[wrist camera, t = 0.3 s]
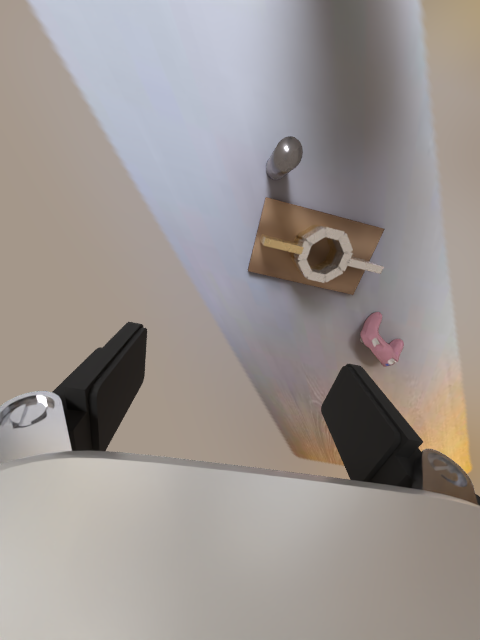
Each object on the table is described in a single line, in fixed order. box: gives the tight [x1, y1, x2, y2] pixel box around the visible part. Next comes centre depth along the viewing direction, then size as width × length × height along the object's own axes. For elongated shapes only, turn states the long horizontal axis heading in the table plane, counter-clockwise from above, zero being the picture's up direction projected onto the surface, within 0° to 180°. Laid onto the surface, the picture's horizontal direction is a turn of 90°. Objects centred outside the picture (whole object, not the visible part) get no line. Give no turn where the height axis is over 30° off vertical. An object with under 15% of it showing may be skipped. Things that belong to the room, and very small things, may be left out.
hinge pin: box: [266, 137, 303, 180], centre depth 28 cm, size 3×3×8 cm
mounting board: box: [248, 197, 384, 295], centre depth 36 cm, size 11×19×1 cm, turn 77°
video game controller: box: [360, 312, 404, 367], centre depth 41 cm, size 10×5×7 cm, turn 45°
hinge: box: [260, 225, 384, 283], centre depth 33 cm, size 7×18×5 cm, turn 77°
